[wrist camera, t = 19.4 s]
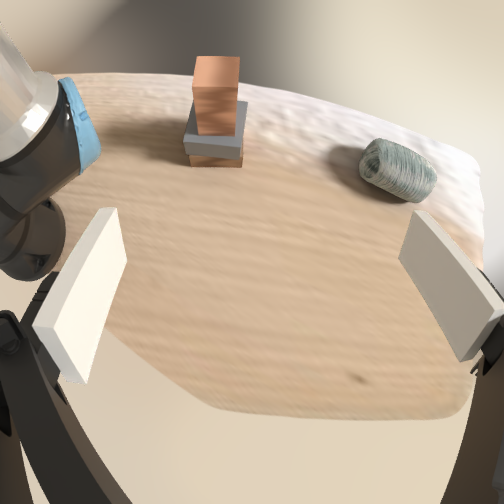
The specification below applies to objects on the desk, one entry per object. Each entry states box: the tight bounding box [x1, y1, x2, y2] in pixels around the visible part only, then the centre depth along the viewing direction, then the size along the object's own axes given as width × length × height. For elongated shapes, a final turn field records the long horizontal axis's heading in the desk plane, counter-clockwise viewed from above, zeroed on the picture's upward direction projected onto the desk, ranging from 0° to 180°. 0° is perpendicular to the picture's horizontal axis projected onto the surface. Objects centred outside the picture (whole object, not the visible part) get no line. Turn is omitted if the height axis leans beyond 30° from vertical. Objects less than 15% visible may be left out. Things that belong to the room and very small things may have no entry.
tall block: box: [192, 56, 240, 137], centre depth 37 cm, size 5×5×11 cm
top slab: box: [183, 99, 248, 160], centre depth 44 cm, size 8×8×4 cm
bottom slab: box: [189, 140, 243, 168], centre depth 48 cm, size 8×8×4 cm
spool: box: [359, 138, 437, 203], centre depth 48 cm, size 14×10×10 cm
